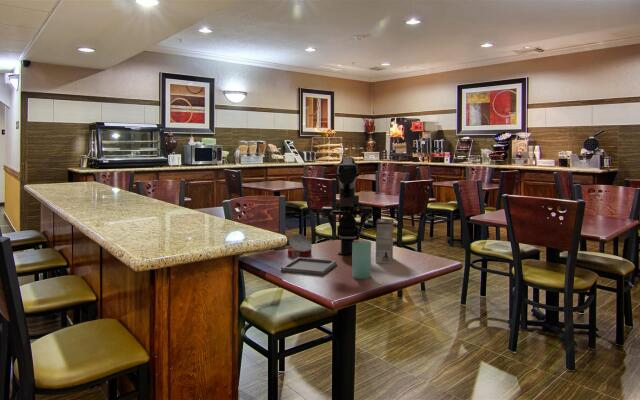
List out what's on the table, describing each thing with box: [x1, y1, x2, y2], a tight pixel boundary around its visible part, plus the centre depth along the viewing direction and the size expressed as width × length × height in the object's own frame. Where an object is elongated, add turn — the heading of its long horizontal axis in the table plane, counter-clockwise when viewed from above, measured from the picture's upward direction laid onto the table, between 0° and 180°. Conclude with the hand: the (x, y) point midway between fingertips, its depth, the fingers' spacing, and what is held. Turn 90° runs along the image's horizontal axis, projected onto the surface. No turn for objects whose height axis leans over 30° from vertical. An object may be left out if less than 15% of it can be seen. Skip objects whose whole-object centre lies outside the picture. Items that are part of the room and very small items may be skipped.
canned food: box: [287, 233, 313, 259], centre depth 191 cm, size 11×10×10 cm
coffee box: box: [375, 218, 394, 264], centre depth 181 cm, size 9×6×16 cm
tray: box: [280, 257, 338, 277], centre depth 172 cm, size 16×16×2 cm
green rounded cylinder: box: [351, 240, 372, 280], centre depth 160 cm, size 6×6×12 cm
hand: (346, 235), depth 167 cm, fingers open, 9 cm apart
